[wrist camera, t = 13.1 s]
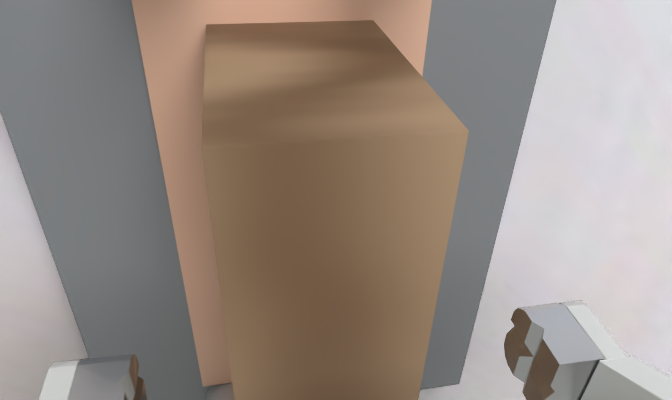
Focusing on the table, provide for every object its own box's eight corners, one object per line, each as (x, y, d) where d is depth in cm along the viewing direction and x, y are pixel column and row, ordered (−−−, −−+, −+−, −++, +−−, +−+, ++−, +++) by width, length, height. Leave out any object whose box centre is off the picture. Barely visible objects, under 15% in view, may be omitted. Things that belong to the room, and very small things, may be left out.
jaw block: (373, 19, 13) (469, 131, 8) (352, 328, 19) (399, 495, 14) (205, 24, 12) (201, 148, 7) (240, 342, 18) (250, 523, 14)
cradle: (579, -193, 12) (734, -205, 9) (450, 365, 24) (493, 461, 20) (-96, -225, 10) (-276, -261, 6) (121, 412, 21) (101, 533, 18)
